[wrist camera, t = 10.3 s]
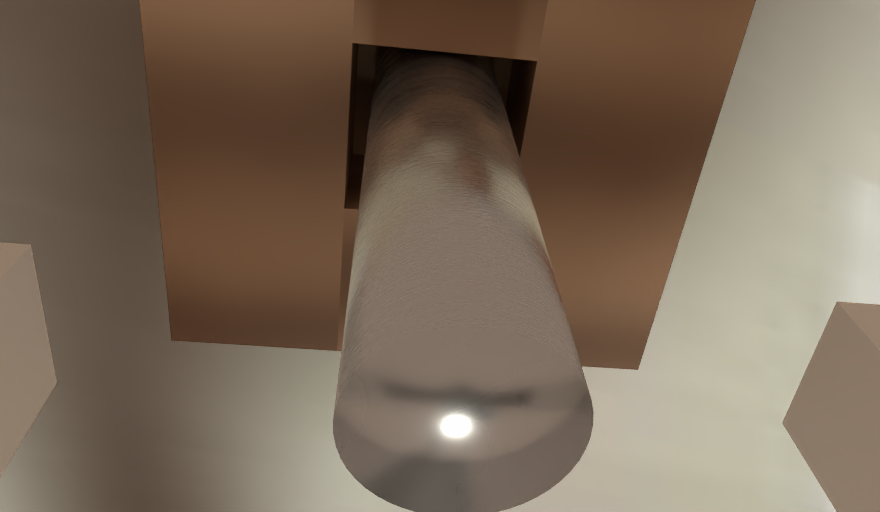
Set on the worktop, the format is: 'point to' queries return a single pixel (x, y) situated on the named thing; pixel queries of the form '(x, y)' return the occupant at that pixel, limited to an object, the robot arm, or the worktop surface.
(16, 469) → the worktop surface
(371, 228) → the steel pin
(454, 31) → the wooden block with hole
